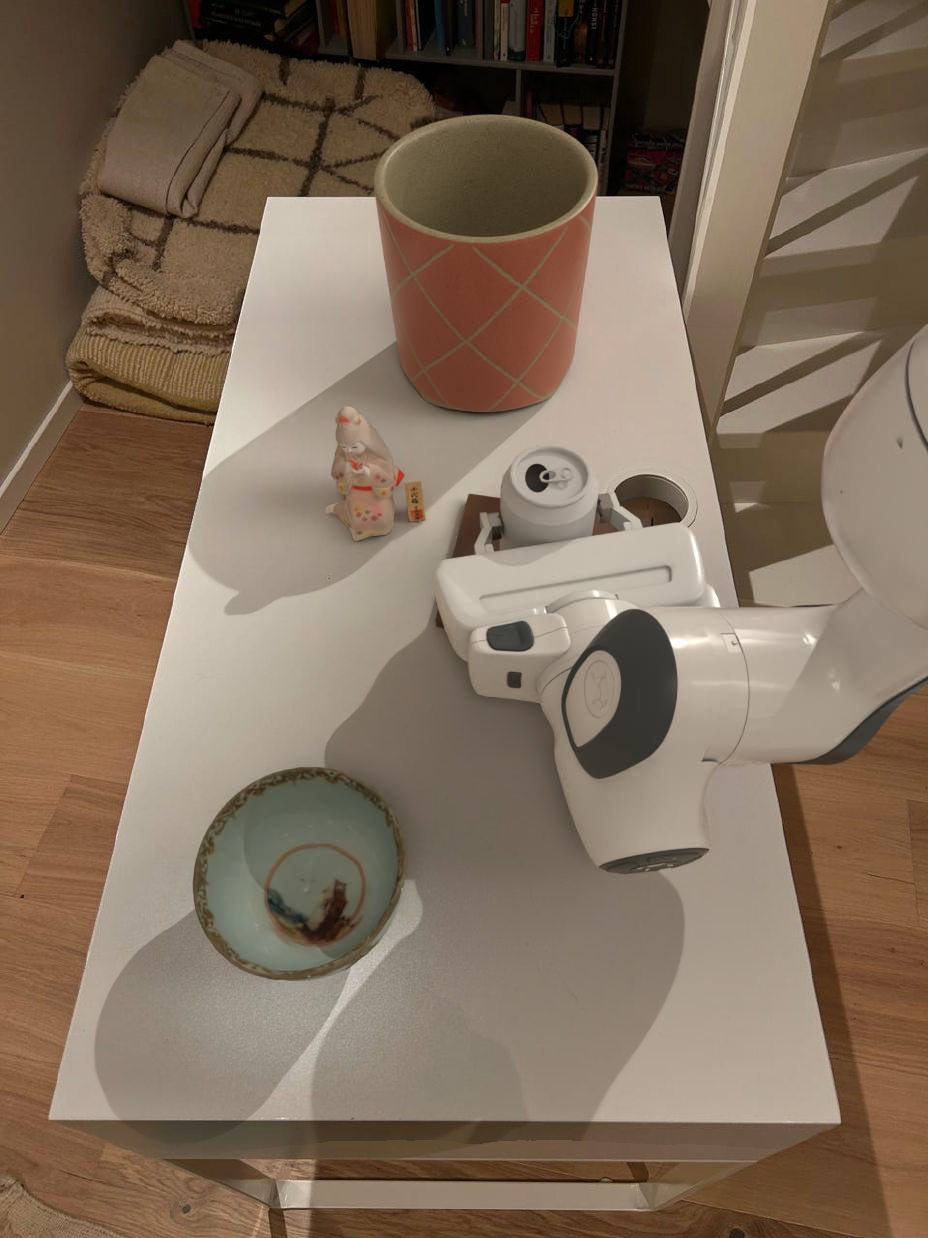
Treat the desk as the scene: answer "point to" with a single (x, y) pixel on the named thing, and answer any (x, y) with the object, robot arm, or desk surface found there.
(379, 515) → the figurine
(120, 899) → the desk surface
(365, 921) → the bowl
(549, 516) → the can
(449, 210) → the planter
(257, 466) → the desk surface
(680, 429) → the desk surface
